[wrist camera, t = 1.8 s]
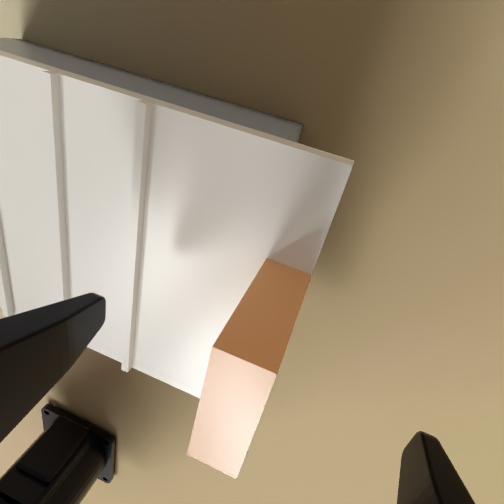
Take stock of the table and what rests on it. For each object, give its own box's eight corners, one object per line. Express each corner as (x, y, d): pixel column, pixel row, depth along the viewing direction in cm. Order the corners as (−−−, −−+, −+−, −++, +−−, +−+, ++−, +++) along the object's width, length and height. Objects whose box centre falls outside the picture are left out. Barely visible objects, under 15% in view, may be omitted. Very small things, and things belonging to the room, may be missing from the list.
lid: (259, 411, 15) (214, 535, 11) (-38, 278, 17) (-162, 340, 13) (354, 160, 9) (333, 227, 5) (-99, 19, 12) (-338, -5, 8)
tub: (246, 320, 19) (214, 379, 15) (39, 235, 21) (-33, 270, 17) (303, 124, 14) (274, 145, 10) (20, 39, 16) (-86, 31, 12)
